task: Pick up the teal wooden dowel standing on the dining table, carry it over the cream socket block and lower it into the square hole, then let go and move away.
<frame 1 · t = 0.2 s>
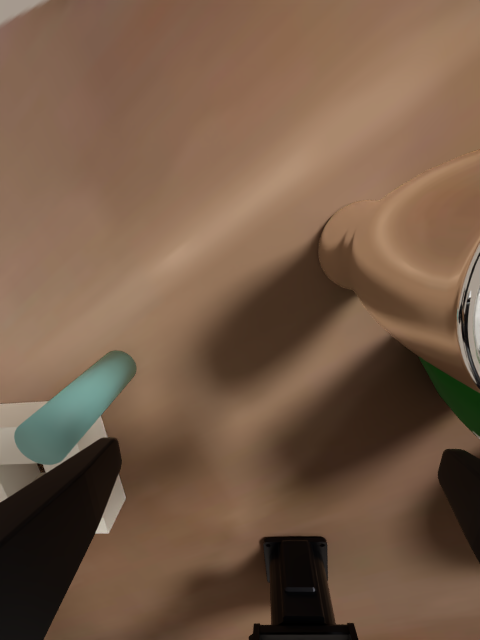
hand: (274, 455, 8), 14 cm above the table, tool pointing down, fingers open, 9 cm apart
socket block: (54, 453, 27), on the table
milk carton: (463, 341, 21), on the table
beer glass: (360, 246, 20), on the table
peg: (119, 366, 24), on the table
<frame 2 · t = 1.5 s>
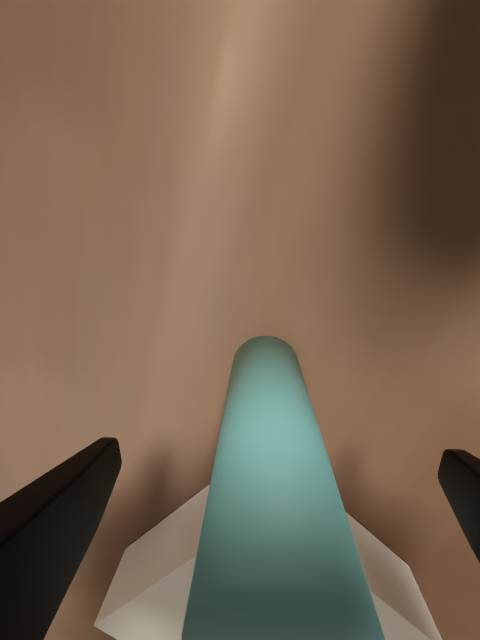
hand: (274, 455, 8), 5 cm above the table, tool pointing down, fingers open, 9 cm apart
socket block: (262, 556, 16), on the table
peg: (265, 366, 13), on the table
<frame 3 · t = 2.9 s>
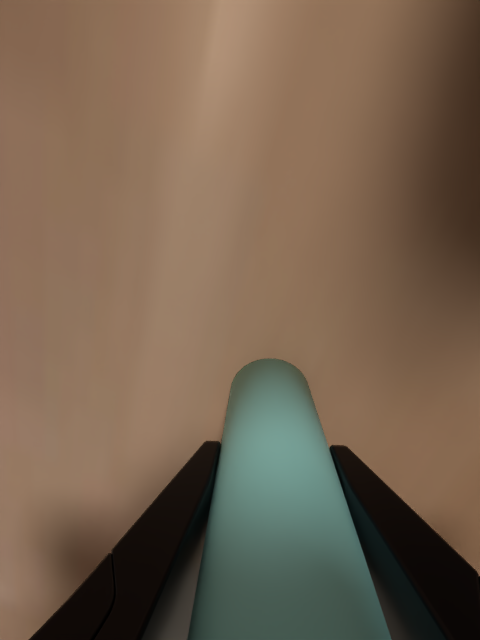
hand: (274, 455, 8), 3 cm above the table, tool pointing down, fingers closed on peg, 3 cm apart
peg: (269, 394, 11), on the table, touching gripper
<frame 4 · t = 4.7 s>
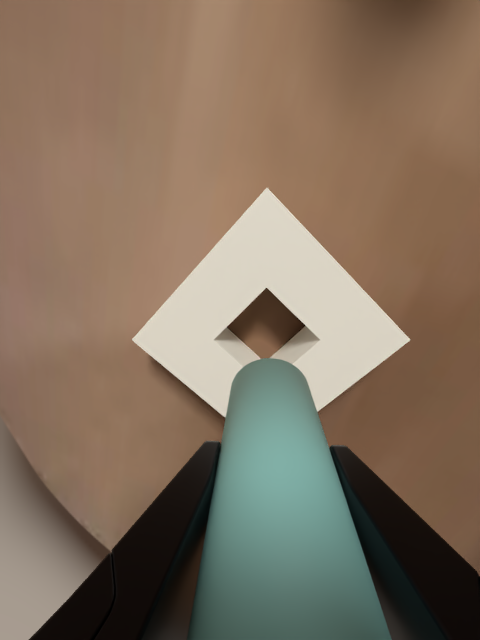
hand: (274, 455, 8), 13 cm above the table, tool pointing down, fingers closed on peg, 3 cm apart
socket block: (265, 322, 20), on the table
peg: (269, 393, 10), point 10 cm above the table, touching gripper
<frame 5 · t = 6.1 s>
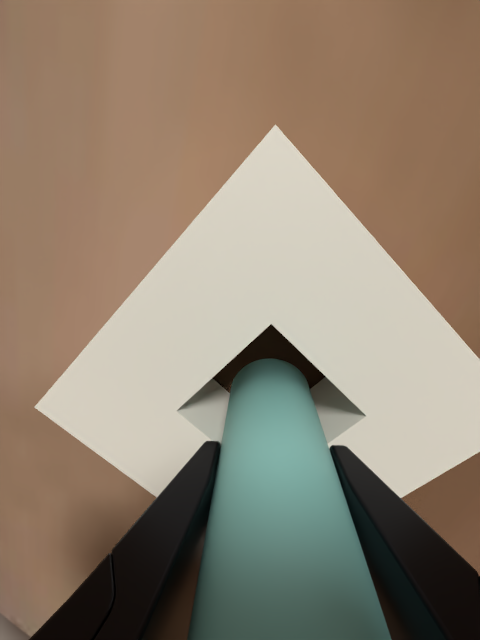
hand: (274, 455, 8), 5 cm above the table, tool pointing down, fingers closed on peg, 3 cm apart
socket block: (266, 366, 13), on the table
peg: (269, 394, 10), point 2 cm above the table, touching gripper
when the fingers open (5 cm above the table, at t = 6.8 s): peg drops 2 cm, resting in socket block.
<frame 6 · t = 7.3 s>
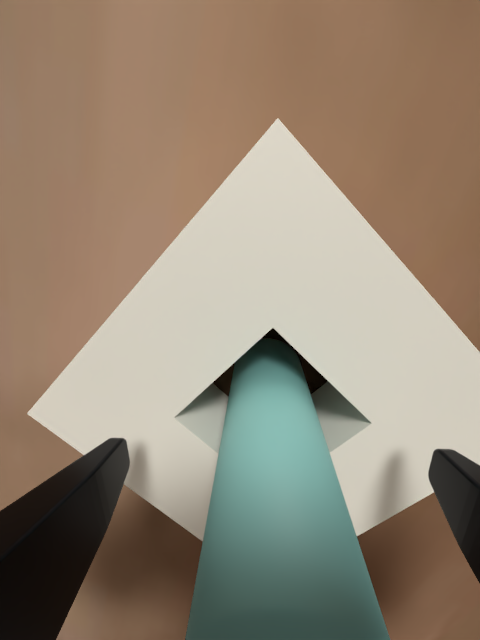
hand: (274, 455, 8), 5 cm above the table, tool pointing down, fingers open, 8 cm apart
socket block: (267, 369, 12), on the table
peg: (267, 369, 12), resting in socket block
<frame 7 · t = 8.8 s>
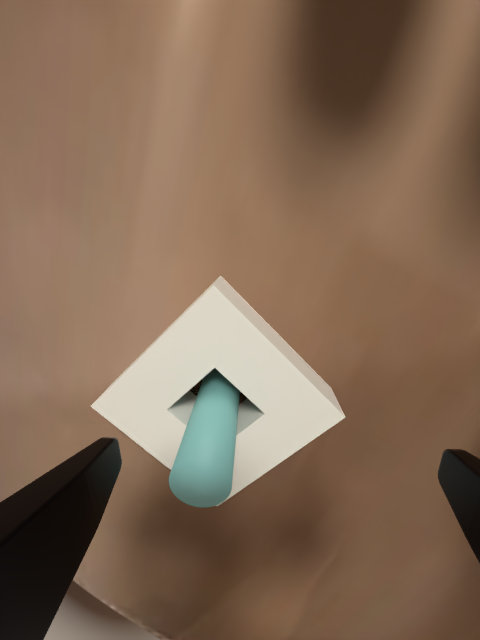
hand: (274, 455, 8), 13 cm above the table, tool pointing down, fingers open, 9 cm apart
socket block: (221, 383, 21), on the table
peg: (221, 383, 21), resting in socket block
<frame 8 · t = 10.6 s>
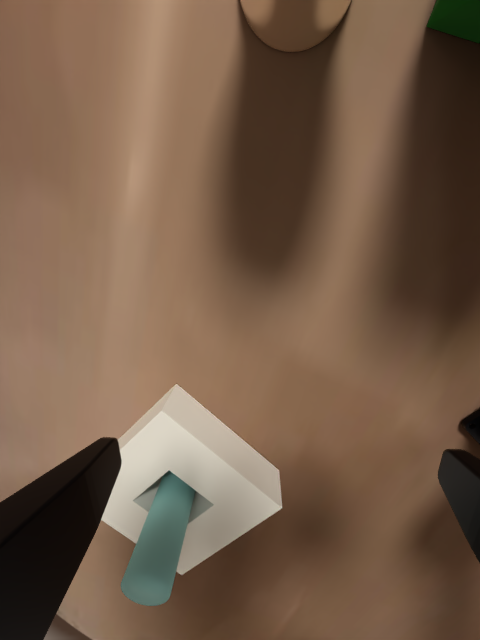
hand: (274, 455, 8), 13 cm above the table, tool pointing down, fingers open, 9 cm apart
socket block: (184, 466, 25), on the table
peg: (184, 466, 25), resting in socket block
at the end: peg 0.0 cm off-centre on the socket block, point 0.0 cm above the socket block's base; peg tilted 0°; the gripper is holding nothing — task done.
